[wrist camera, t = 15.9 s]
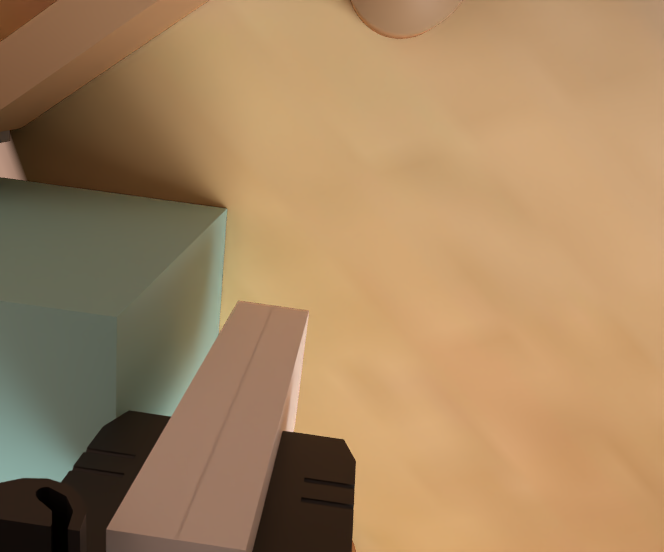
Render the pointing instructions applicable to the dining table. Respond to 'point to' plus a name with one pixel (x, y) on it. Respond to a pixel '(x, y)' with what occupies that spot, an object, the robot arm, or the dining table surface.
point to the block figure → (134, 45)
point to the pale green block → (98, 314)
